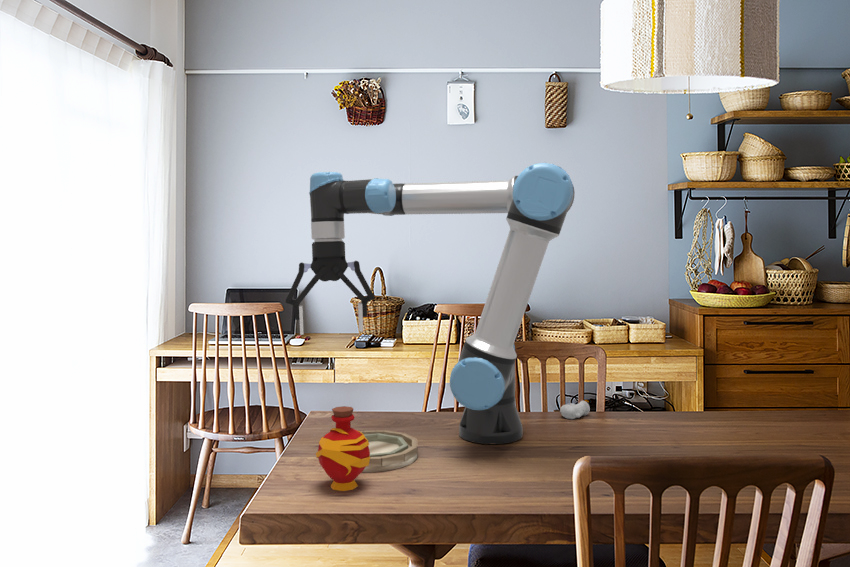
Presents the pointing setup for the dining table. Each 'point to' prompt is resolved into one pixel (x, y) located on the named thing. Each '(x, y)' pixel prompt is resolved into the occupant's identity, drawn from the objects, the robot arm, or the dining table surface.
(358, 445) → the potion bottle
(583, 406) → the pale two-lobed sculpture
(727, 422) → the dining table surface
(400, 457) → the tray
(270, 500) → the dining table surface
